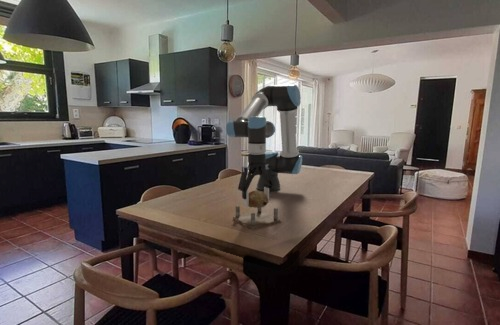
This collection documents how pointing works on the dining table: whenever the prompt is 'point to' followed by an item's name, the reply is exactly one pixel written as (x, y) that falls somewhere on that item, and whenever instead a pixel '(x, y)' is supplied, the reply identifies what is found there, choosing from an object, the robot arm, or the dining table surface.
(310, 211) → the dining table surface
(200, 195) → the dining table surface
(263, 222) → the trivet
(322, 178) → the dining table surface
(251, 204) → the bread roll
